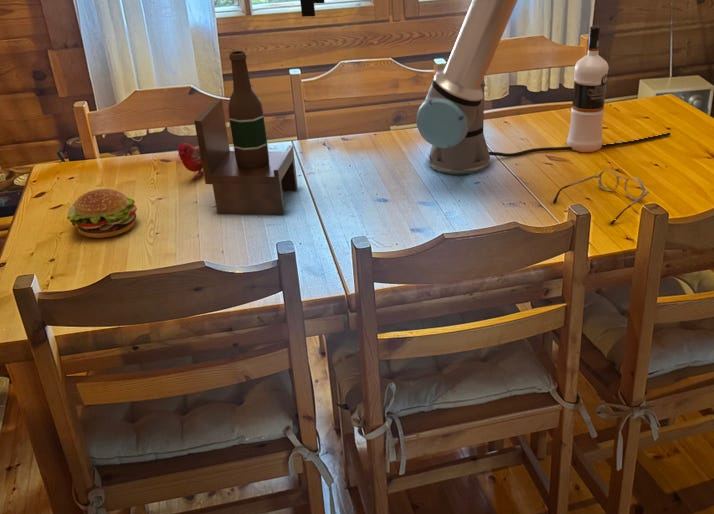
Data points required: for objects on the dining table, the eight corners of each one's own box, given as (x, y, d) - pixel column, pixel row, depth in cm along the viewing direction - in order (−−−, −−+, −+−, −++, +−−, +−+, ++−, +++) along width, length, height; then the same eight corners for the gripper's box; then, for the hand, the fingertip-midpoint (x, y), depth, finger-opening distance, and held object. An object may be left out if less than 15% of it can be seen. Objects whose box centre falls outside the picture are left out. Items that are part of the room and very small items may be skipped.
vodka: (580, 138, 218) (591, 20, 202) (609, 146, 213) (622, 26, 196) (559, 147, 213) (568, 26, 196) (587, 156, 208) (599, 32, 191)
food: (88, 213, 183) (79, 179, 179) (148, 215, 182) (140, 181, 177) (58, 240, 172) (48, 205, 167) (122, 242, 170) (114, 207, 166)
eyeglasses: (653, 204, 183) (656, 183, 180) (613, 225, 174) (615, 204, 171) (591, 184, 193) (593, 163, 190) (550, 203, 184) (552, 182, 181)
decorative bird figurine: (179, 187, 195) (171, 146, 189) (214, 160, 209) (208, 122, 203) (190, 188, 194) (182, 147, 188) (224, 161, 208) (218, 122, 203)
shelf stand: (297, 188, 193) (287, 99, 181) (283, 215, 181) (271, 121, 169) (229, 187, 194) (215, 98, 182) (210, 213, 182) (194, 120, 170)
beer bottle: (263, 170, 179) (247, 57, 165) (230, 168, 180) (211, 56, 166) (275, 157, 185) (261, 48, 171) (243, 155, 186) (227, 46, 173)
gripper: (294, -106, 178) (306, -2, 189) (271, -94, 157) (286, 22, 169) (328, -108, 177) (338, -3, 189) (310, -96, 156) (322, 21, 168)
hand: (313, 9), depth 179 cm, fingers open, 13 cm apart
